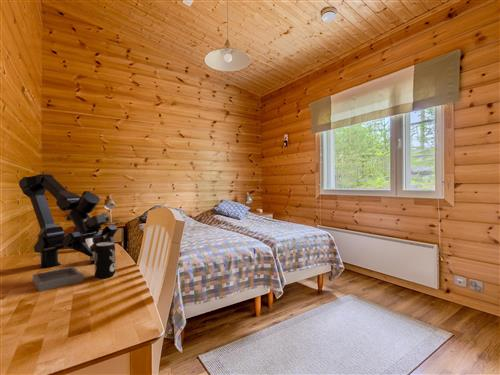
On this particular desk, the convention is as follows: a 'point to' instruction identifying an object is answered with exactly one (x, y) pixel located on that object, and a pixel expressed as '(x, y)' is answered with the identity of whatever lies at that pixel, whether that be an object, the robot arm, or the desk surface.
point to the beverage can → (104, 260)
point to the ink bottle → (92, 247)
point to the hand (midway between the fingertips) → (103, 252)
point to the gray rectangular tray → (57, 278)
